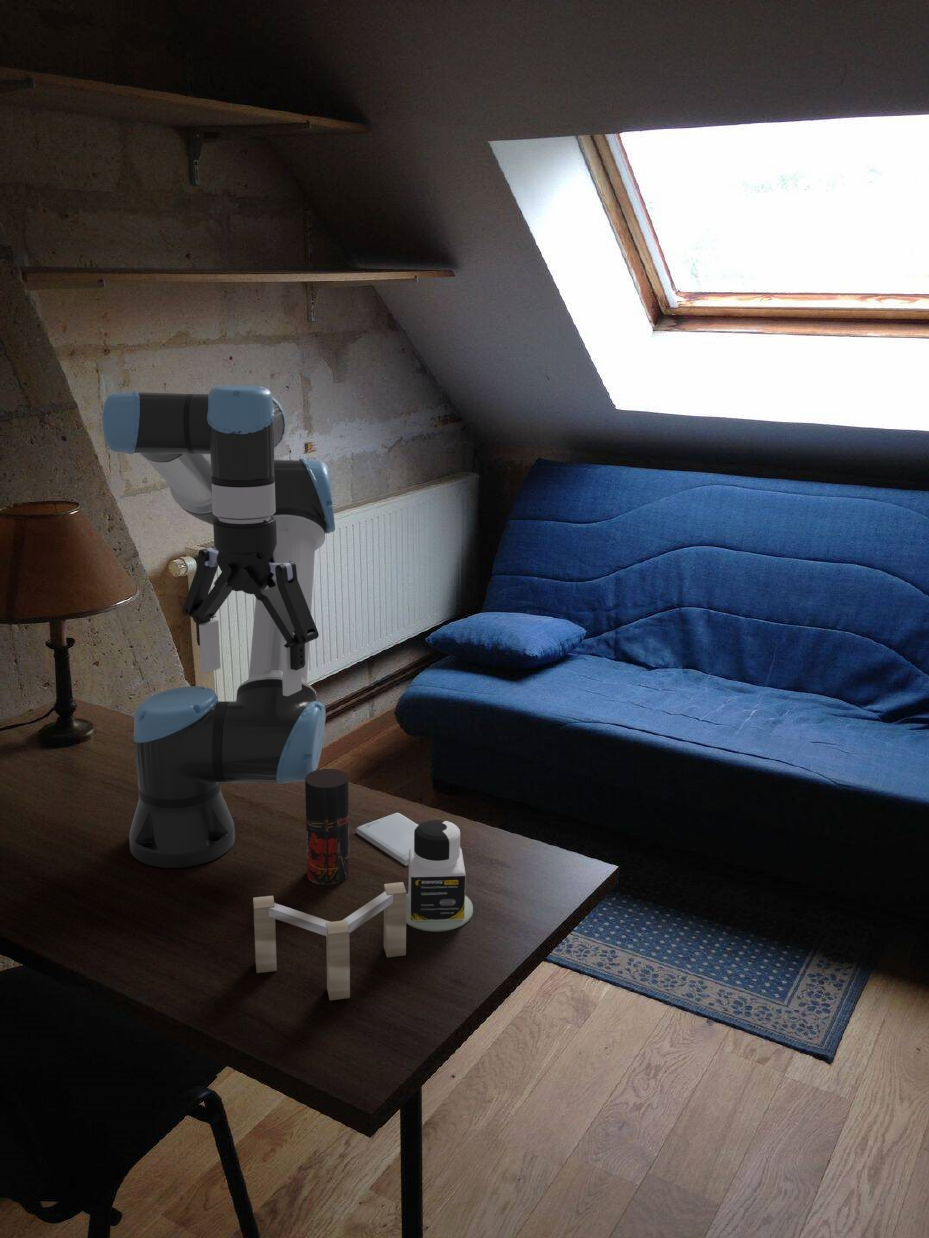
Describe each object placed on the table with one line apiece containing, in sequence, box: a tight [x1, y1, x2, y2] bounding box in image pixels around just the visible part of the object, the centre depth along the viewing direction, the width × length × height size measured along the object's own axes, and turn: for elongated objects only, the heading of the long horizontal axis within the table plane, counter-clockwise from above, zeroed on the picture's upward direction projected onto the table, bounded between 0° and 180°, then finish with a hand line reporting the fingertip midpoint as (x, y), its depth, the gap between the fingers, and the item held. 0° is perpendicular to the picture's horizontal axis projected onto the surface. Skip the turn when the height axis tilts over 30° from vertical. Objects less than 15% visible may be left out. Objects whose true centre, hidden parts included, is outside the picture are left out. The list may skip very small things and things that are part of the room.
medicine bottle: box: [407, 819, 467, 922], centre depth 145 cm, size 7×7×12 cm
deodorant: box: [304, 768, 350, 886], centre depth 153 cm, size 6×6×15 cm
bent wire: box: [252, 881, 407, 1001], centre depth 132 cm, size 9×18×9 cm, turn 103°
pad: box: [406, 892, 474, 933], centre depth 147 cm, size 10×10×1 cm
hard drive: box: [355, 812, 419, 867], centre depth 165 cm, size 2×8×12 cm
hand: (250, 681), depth 139 cm, fingers open, 13 cm apart
